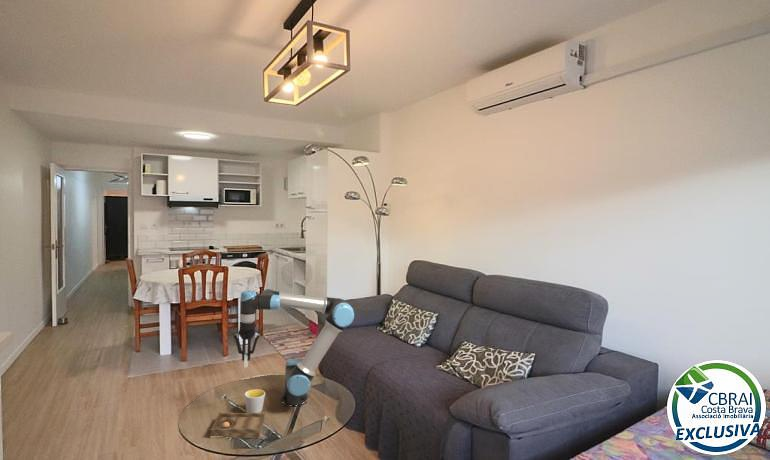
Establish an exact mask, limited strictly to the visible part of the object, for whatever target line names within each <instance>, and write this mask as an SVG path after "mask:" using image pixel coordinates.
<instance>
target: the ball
mask: <svg viewBox="0 0 770 460" xmlns="http://www.w3.org/2000/svg"><path fill="white" fill-rule="evenodd" d="M222 426H224V427H227V426H230V424H229V422H224V423H223V424H222Z"/></svg>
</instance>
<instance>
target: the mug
mask: <svg viewBox="0 0 770 460" xmlns="http://www.w3.org/2000/svg"><path fill="white" fill-rule="evenodd" d="M265 397H266V391H264V390H262V389H249V390H246V392H245V393H244V399H245V409H246V410H245V411H246V413H262V411H263V408H264V407H263V406H264V402H265Z"/></svg>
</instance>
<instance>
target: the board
mask: <svg viewBox="0 0 770 460" xmlns="http://www.w3.org/2000/svg"><path fill="white" fill-rule="evenodd" d="M265 416H266V414H265V412H260V413H247V412H219V413H218V416H217V417H216V418H215V420H214V422H213V424H212V426H211V427H210V431H209V437H210V436H223V437H233V438H232V439H259V438H260V436H261V433H262V429H263V426H264V423H265ZM224 422H229V424H230V426H227V427H224V426H222V424H223V423H224Z"/></svg>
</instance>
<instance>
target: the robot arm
mask: <svg viewBox="0 0 770 460" xmlns="http://www.w3.org/2000/svg"><path fill="white" fill-rule="evenodd" d="M239 303H240V304H239V306H240V307H239V312H240V313H239V321H240V322H239V330H238V332H237V333H234V335H233V338H234V339H235V343H236V347H237V348H236V349H237V351H238V352H237V353H238V354H240V355H241V360H242V361H243V369H244V368H248V366H249V361H251V355H252V354H254V353H255V351H256V350H255V349H256V346H257V343H258V340H259V339H260V336H261V334H260V333H258V332H256V310H260V311H263V310H267V311H269V310H271V311H274V310H279V309H280V307H287V308H292V309H293V308H294V309H299V310H305V311H306V310H307V311H314V312H321V313H322V315H326V317H325V320H324V321H325V324H324V326H322V329H321V331H320V332H319V334H318V335H317V336H316V338H315V339H314V342H313V343H312V344H311V346H310V348H309V349H308V351H307V352H306V353H305V355H304V357H303V358H291V359H288V360H287V361H286V363H285V374H284V375H285V376H284V388H283V391H282V393H281V396H280V402H281V401H282V402H284V403H285V404H286V405H285V406H287V405H297V404H301V403H303V402H305V401H306V400H307V399H308V400H309V393H308V392H309V391H310V389H311V385H312V384H311V382H312V381H313V379H314V378H315V376H316V372H315V371H316V369H317V368H318V366H319V365H320V363H321V362H322V359H323V358H324V357H325V355H326V354H327V352H328V351H329V349H330V347H331V346H332V344H333V343H334V341H335V340H336V338H337V337H338V335H339V333H342V332H344V331H345V330H346V328H347V327H348V326H350V325H351V324H352V323H353V321H354V319H355V311H354V308H353V307H352V306H351V305H350V303H348V301H347V300H345V299H342V298H337V297H330V296H329V297H328V296H324V297H318V296H317V297H316V296H309V295H303V294H296V293H290V292H283V291H277V290H273V289H272V288H267V289H264V290H263V291H262V293H261V294H257V292H256V290H251V289H249V290H248V289H247V290H243V291H242V292H241V293H240V300H239ZM253 337H254V340H253V341H254V342H253V345H252V339H253ZM240 338H241V339H242V345H241V341H240ZM246 341H247V342H246ZM246 343H247V353H246ZM251 347H252V348H251Z"/></svg>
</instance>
